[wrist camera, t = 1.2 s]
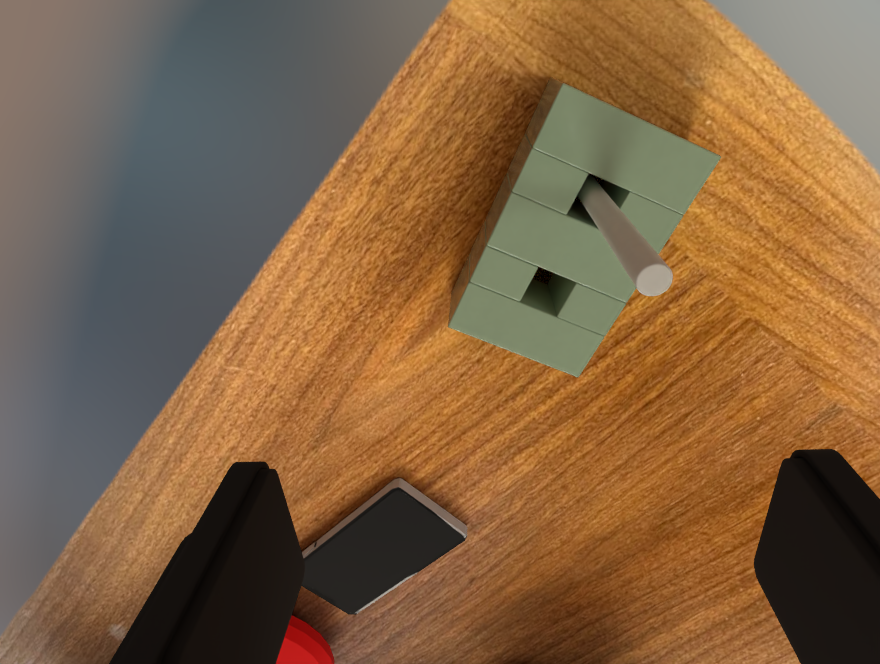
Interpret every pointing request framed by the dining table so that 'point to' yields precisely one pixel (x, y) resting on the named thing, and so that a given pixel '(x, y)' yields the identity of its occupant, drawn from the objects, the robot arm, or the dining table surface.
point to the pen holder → (571, 227)
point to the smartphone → (379, 547)
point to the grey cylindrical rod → (626, 241)
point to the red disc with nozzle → (304, 645)
